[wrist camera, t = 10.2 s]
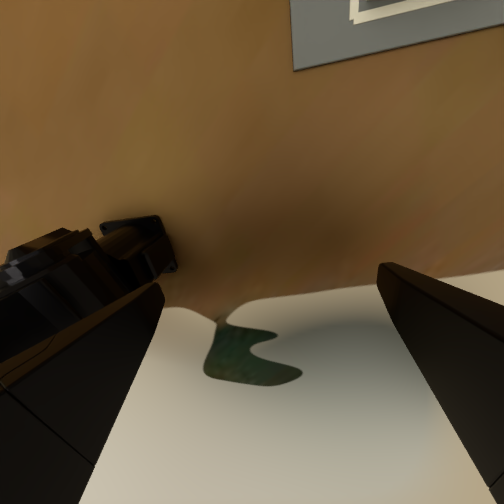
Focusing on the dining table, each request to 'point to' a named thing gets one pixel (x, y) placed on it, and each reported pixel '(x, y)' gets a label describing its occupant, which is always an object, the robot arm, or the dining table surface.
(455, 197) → the dining table surface
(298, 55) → the slate mat
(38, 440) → the robot arm
